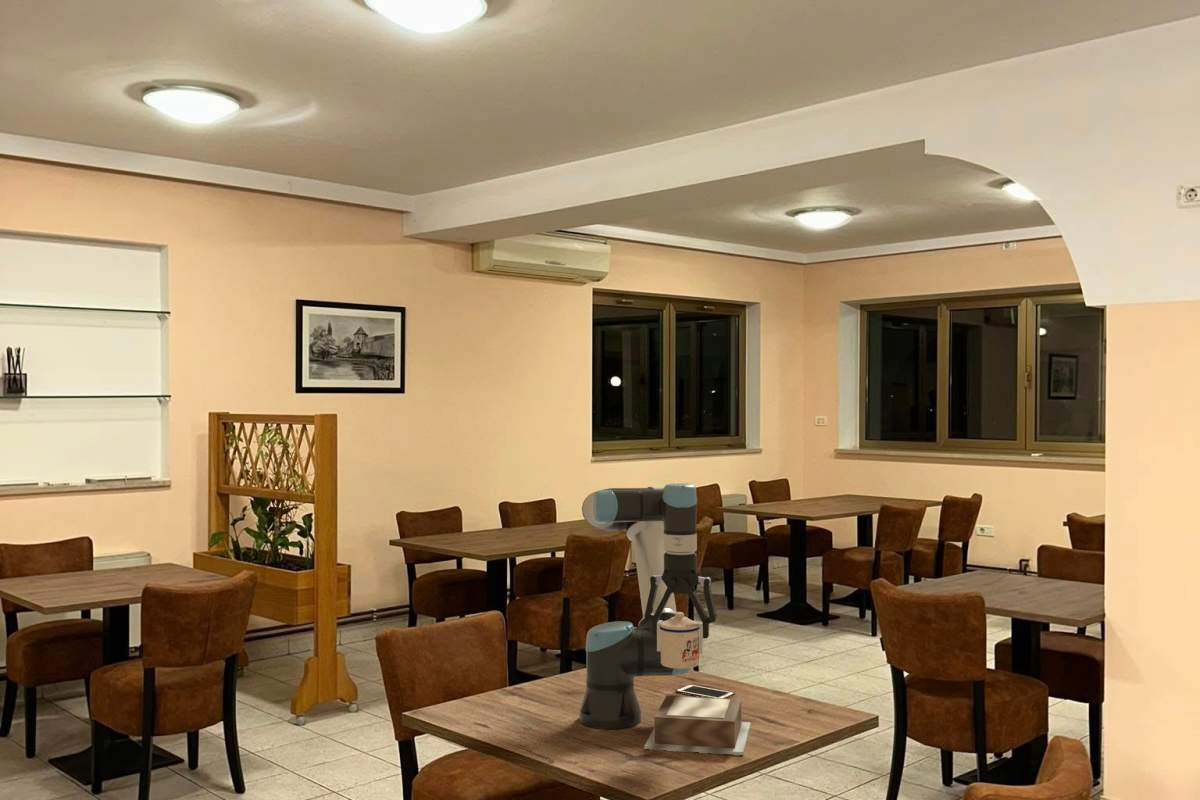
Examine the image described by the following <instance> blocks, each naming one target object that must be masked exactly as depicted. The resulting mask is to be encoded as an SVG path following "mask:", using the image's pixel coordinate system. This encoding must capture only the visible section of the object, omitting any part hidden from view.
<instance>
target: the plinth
mask: <svg viewBox="0 0 1200 800" xmlns="http://www.w3.org/2000/svg"><path fill="white" fill-rule="evenodd" d="M653 719H654V728H653V729H652V731H651V733H650V735H649V737H648V738H647V740H646V742H645V744H644V746H643V747H644V749H643V750H646V749H649V751H661V750H666V751H665V752H677V751H678V753H680V752H681V753H692V752H699V753H698V754H708V753H711V755H723V754H734V755H733V756H739V755H743V756H744V754H745V750H744V749H746V746H747V742H748V738H747V737H749V734H748V733H750V730H751V726H752V725H751V722H749V721H742V698H728V699H727V698H708V697H695V696H690V695H672V694H671V695H668V694H667V695H665V698H664V700H663V701H662V703H661V704H660V706H659V708H658V710H657V712H656V714H655V715H654V718H653ZM750 725H751V726H750ZM749 729H750V730H749ZM746 741H747V742H746ZM745 745H746V746H745ZM737 754H738V755H737Z"/></svg>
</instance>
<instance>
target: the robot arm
mask: <svg viewBox="0 0 1200 800" xmlns="http://www.w3.org/2000/svg"><path fill="white" fill-rule="evenodd" d="M697 503H698V497H697V488H696V486H695V485H694V484H692V483H680V482H679V483H667V484H665V485H664V486H663V487H652V486H647V487H621V488H620V487H610V488H604V489H600V490H596V491H592V493H590V494H588V495H587V496H586V497H585V498H584V500H583V501H582V506H581V512H582V516H583V519H584V520H585V521H586V523H587V524H589V525H590V526H592V527H594V528H596V529H600V530H604V531H611V532H626V537H627V539H628V540H629V541H630V542H632V543H633V549H634V555H635V556H634V557H635V558H634V559H635V564H636V573H637V580H638V588H639V593H640V595H639V596H640V601H641V602H640V603H641V609H642V610H641V611H642V619H640V621H639V622H638V625H637V626H638V627H635V625H634V624H633V622H631V621H627V620H625V621H620V620H619V621H618V620H617V621H611V622H610V621H609V622H604V623H600V624H598V625H595V626H593V627H591V628H590V629H589V630H588V631H587V634H586V640H585V646H584V647H585V648H584V649H585V651H586V652H585V654H586V673H585V674H586V676H585V677H586V687H585V693H584V695H583V698H582V702H581V705H580V708H579V722H580V724H583V725H584V726H587V727H591V728H594V729H595V728H597V729H604V730H605V729H606V730H609V729H612V730H615V729H624V728H629V727H634V726H636V725H638V724H639V723H641V721H642V710H641V706H640V704H639V700H638V697H637V694H636V691H635V688H634V687H635V684H634V682H635V680H634V678H635V677H657V676H671V677H673V676H676V675H686V674H687V673H689V671H690V670H691V668H686V669H675V668H668V667H665V666H663V665H662V664H661V629H660V624H661V623H662V622H663V621H667V620H669V619H670V618H672V617H675V613H676V612H678V611H677V607H676V599H675V594H676V595H677V594H682V595H687V596H688V597H689V599H690V600H691V602H692V604H693V606H694V609H695V611H696V612H697V615H698V617H699V618H700V621H701V622H700V623H698V624H699V655H704V653H705V651H706V650H705V647H706V646H705V644H706V643H705V641H706V640H705V639H708V638H709V637H710V624H712V623H714V622H716V621H717V619H718V615H717V611H716V610H717V609H716V607H715V602H714V597H713V594H712V589H711V583H712V578H711V577H710V576H706V577H704V576H699V573H698V555H697V553H696V552H697V550H698V532H697V531H698V530H697V528H698V527H697V524H698V523H697V521H698V520H697V514H698V513H697V507H698V505H697ZM697 583H700V586H701V587H702V588H703V594H704V598H705V602H706V608H707V612H708V614H707V612H706V610H705V608H704V606H703V604H702V602H701V600H700V597H699V596H698V594H697V590H696V588H695V586H696V585H697Z"/></svg>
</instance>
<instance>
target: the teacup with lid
mask: <svg viewBox="0 0 1200 800" xmlns="http://www.w3.org/2000/svg"><path fill="white" fill-rule="evenodd" d="M699 624H700V623H699V622H697V621H695V620H692V619H690V618H688V616H685V613H684V612H681V611H677V612H676V613H675V617H672V618H670V619H669V620H667V621H663V622H662V623H661V624H660V629H661V664H662V665H663V666H665V667H668V668H675V669H686V668H690V669H692V668H697V666H698V665H699V664H700V654H699Z"/></svg>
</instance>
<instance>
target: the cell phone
mask: <svg viewBox="0 0 1200 800" xmlns="http://www.w3.org/2000/svg"><path fill="white" fill-rule="evenodd" d="M675 691H676V692H679V693H684V694H685V693H686V694H690V695H695V696H699V697H708V698H728V697H730V696H733V695H735V696H736V693H735V692H733V691H729V690H725V689H724V690H723V689H719V688H712V687H707V686H702V685H696V684H687V685H684V686H681V687H679V688H677V689H675ZM679 693H678V694H679ZM684 694H683V695H684ZM690 695H689V696H690ZM695 696H694V697H695ZM733 697H734V696H733ZM730 698H731V697H730ZM728 699H729V698H728Z"/></svg>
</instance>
